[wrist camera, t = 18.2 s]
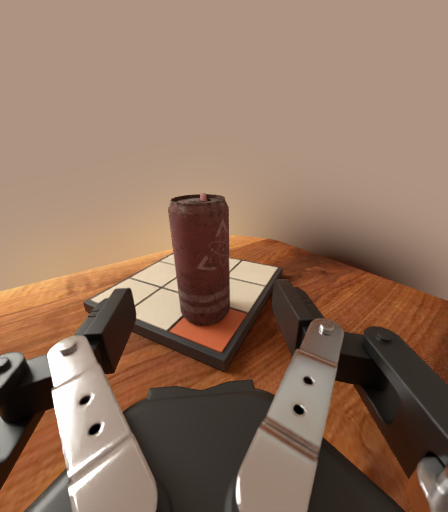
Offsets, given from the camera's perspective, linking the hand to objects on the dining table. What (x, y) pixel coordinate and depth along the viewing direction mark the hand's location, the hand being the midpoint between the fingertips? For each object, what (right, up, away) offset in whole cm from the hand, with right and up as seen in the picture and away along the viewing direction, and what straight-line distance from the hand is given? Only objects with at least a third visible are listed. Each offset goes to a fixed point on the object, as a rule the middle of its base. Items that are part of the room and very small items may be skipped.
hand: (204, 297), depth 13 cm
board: (-3, -3, +23) cm, 23 cm away
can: (-1, -5, +16) cm, 16 cm away
